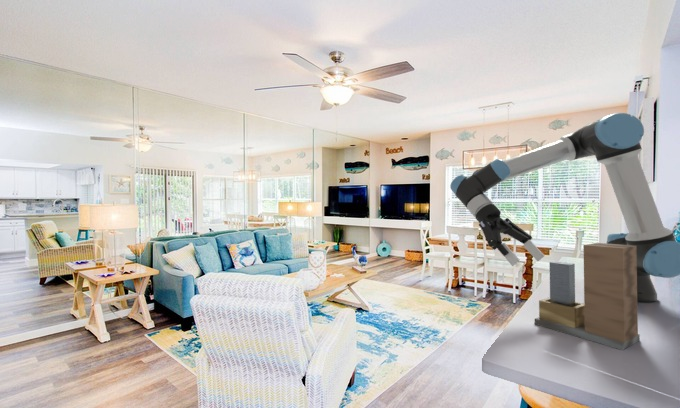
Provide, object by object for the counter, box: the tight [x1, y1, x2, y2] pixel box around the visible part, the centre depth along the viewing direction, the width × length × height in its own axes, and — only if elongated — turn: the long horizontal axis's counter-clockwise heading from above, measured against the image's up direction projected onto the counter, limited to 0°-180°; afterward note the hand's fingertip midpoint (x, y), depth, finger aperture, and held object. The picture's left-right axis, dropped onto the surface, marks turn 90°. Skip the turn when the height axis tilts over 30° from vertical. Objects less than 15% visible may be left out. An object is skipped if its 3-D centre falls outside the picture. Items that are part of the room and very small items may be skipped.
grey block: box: [549, 260, 576, 307], centre depth 92 cm, size 3×5×16 cm, turn 31°
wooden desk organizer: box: [534, 242, 641, 351], centre depth 87 cm, size 10×20×24 cm, turn 31°
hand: (529, 260), depth 99 cm, fingers open, 13 cm apart
